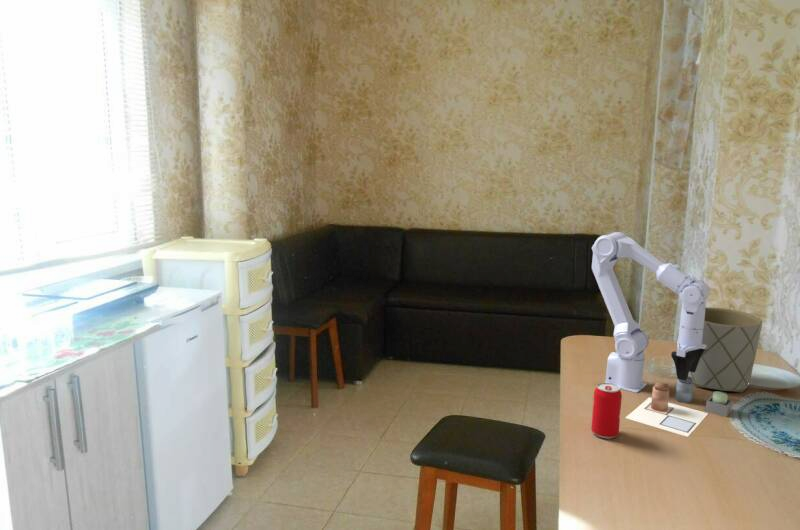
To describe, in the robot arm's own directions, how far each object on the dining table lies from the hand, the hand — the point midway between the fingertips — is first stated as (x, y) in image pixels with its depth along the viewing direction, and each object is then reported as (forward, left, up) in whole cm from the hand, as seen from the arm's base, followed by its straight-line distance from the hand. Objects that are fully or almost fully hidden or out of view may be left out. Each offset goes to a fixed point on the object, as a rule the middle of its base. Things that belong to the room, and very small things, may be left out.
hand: (686, 375), depth 167 cm
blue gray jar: (0, 0, -7) cm, 7 cm away
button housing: (+9, -1, -7) cm, 12 cm away
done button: (+9, -1, -5) cm, 11 cm away
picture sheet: (0, -13, -7) cm, 15 cm away
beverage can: (-8, -33, -7) cm, 35 cm away
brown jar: (-3, -10, -7) cm, 13 cm away
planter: (+3, +20, -8) cm, 22 cm away
